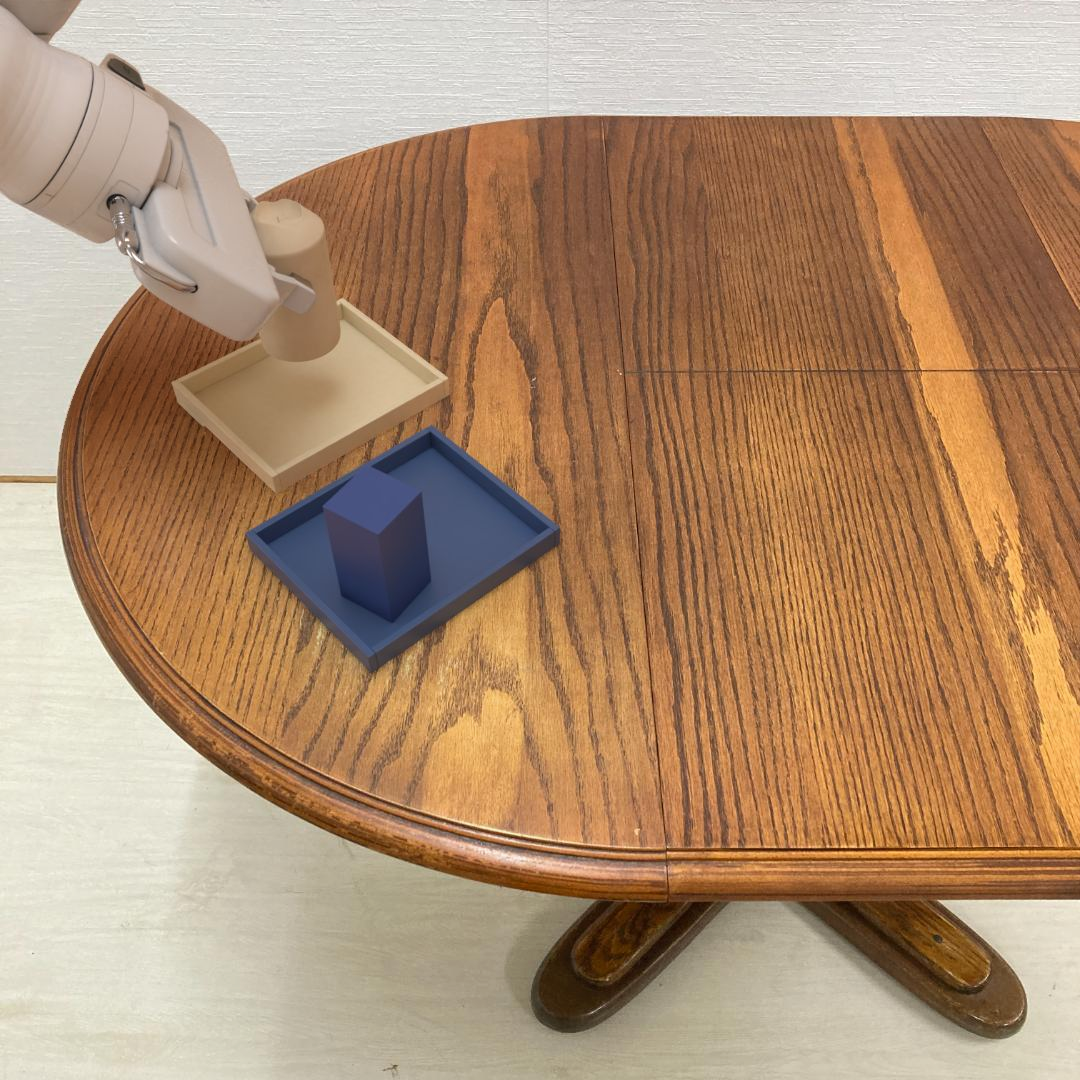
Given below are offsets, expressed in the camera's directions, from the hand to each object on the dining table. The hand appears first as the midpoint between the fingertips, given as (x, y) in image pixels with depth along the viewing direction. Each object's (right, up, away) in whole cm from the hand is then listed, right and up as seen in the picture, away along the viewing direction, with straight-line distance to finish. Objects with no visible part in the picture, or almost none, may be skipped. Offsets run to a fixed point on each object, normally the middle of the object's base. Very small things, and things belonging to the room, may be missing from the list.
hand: (297, 270), depth 73 cm
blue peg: (+6, -21, -4) cm, 22 cm away
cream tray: (0, -8, +8) cm, 11 cm away
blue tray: (+7, -18, -2) cm, 20 cm away
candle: (-1, -4, +4) cm, 6 cm away
